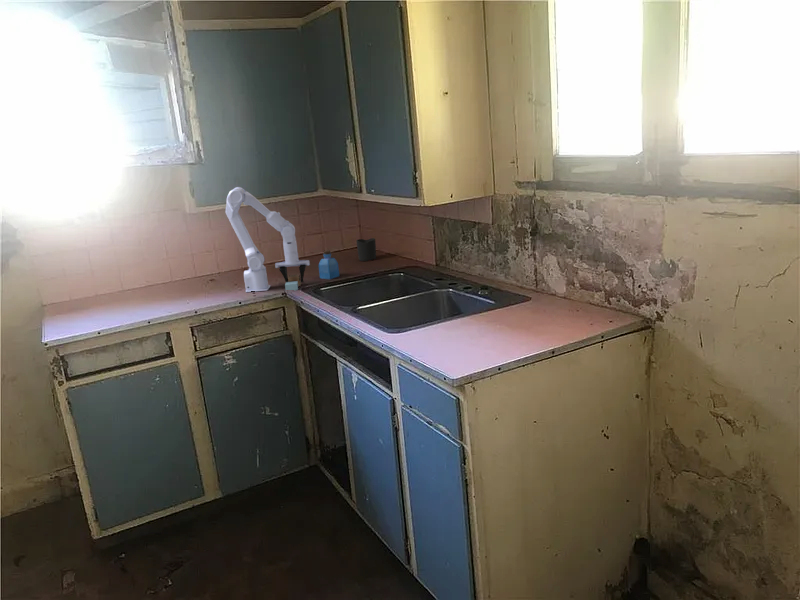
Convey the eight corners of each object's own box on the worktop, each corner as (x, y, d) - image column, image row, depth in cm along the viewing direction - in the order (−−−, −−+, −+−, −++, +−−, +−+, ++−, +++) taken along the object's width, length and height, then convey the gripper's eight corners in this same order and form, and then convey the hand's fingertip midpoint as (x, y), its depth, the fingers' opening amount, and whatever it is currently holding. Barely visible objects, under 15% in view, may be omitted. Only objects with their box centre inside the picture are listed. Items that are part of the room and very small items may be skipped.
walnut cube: (289, 287, 282) (288, 277, 281) (290, 285, 286) (289, 275, 285) (299, 286, 282) (298, 276, 280) (301, 284, 286) (299, 274, 285)
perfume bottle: (330, 279, 291) (327, 252, 287) (320, 278, 294) (317, 252, 291) (339, 276, 295) (336, 250, 292) (329, 275, 299) (326, 249, 296)
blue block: (285, 291, 276) (284, 284, 275) (287, 288, 280) (286, 282, 280) (297, 290, 276) (296, 283, 275) (298, 287, 281) (297, 281, 280)
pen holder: (368, 256, 333) (366, 237, 330) (380, 258, 326) (379, 238, 324) (354, 260, 326) (352, 240, 324) (367, 262, 320) (365, 242, 317)
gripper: (308, 248, 284) (312, 279, 287) (275, 251, 284) (279, 281, 287) (306, 251, 277) (310, 282, 280) (272, 254, 277) (276, 285, 281)
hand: (294, 282), depth 283 cm, fingers open, 6 cm apart
